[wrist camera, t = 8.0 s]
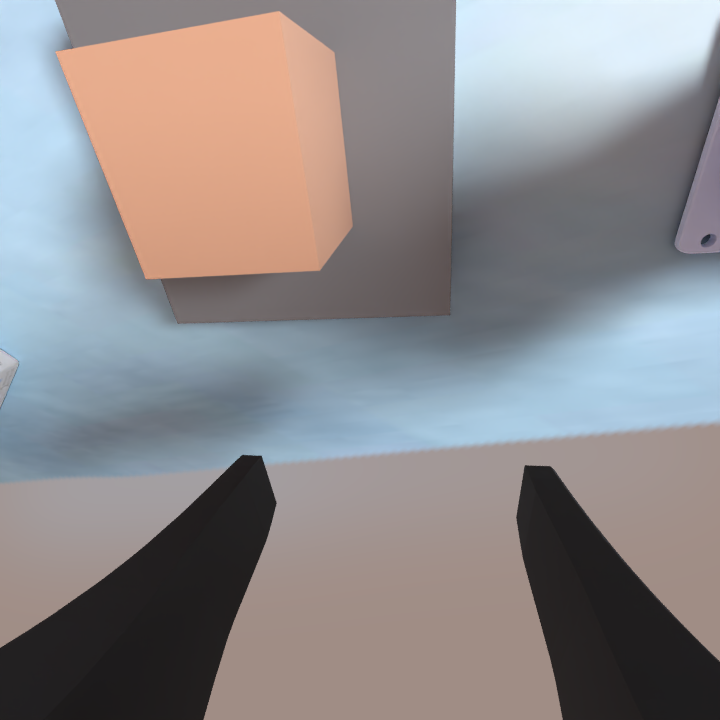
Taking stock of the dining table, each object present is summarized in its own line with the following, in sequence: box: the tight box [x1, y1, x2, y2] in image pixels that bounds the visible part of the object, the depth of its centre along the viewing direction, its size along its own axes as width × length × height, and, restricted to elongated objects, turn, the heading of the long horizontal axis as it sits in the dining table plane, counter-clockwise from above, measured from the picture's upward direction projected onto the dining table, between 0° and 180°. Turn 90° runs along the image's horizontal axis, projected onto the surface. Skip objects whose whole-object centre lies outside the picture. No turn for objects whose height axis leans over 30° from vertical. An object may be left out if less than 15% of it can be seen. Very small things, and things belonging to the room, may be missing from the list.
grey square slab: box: [55, 0, 456, 324], centre depth 15 cm, size 12×12×4 cm
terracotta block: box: [56, 11, 353, 279], centre depth 11 cm, size 5×5×5 cm
